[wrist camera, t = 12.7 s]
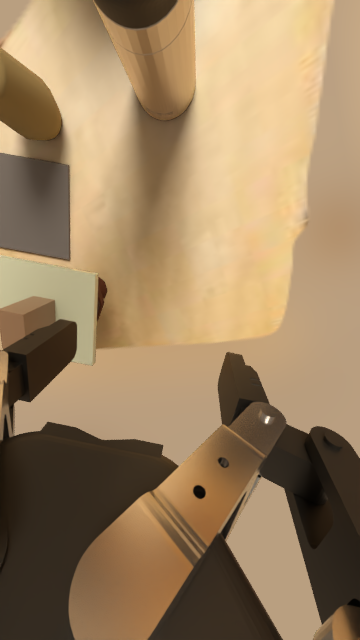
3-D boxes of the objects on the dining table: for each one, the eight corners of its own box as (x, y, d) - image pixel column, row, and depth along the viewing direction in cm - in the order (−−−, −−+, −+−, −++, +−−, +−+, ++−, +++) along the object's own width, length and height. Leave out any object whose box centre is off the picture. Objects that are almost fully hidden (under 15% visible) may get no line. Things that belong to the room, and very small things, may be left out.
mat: (-21, 149, 39) (-23, 148, 39) (69, 165, 39) (67, 164, 39) (-9, 244, 45) (-10, 245, 45) (70, 259, 45) (69, 259, 45)
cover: (-4, 254, 30) (-60, 260, 24) (98, 273, 30) (70, 284, 24) (7, 345, 36) (-36, 370, 29) (95, 362, 35) (71, 391, 29)
